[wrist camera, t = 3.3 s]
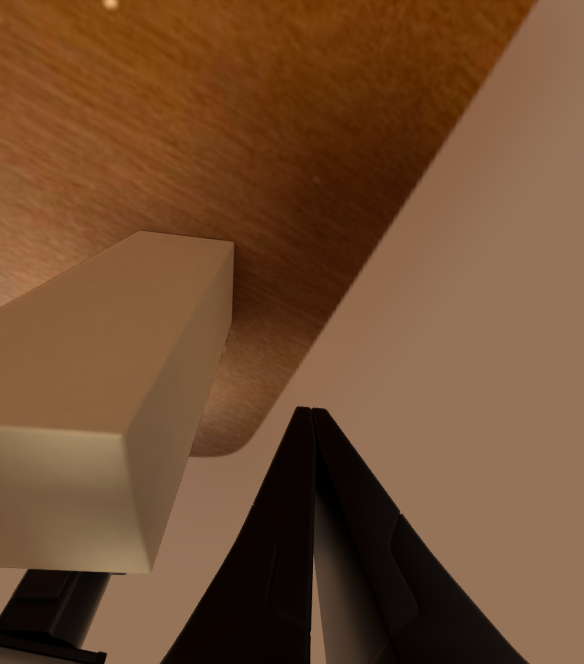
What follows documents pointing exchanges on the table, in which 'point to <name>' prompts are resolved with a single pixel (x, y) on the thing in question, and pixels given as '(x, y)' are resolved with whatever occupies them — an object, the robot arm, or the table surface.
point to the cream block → (107, 400)
